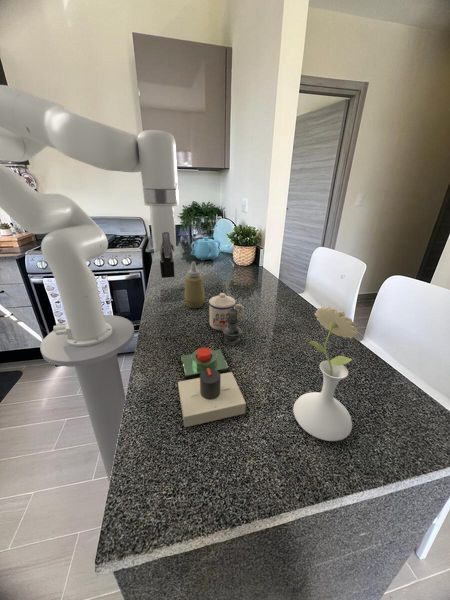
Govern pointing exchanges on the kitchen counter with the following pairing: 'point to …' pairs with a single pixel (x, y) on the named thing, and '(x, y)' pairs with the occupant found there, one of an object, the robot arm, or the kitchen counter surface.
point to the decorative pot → (206, 248)
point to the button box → (203, 364)
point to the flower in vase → (327, 385)
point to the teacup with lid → (221, 310)
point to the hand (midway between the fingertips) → (167, 276)
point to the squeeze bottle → (194, 288)
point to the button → (203, 354)
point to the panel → (210, 401)
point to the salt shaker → (232, 328)
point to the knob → (210, 384)
